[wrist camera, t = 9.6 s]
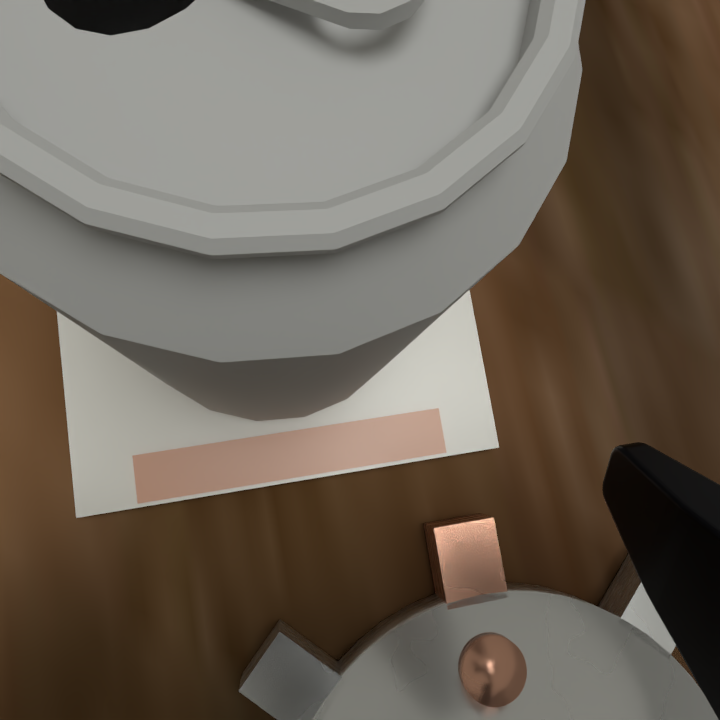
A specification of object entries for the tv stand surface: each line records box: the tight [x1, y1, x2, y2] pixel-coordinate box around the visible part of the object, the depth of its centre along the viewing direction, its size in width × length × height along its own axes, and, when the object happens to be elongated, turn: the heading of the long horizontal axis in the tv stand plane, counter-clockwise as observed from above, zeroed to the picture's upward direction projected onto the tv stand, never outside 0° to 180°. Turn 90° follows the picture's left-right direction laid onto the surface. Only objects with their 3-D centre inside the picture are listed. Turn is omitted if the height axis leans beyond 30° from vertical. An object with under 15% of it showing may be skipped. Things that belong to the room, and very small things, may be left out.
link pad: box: [57, 291, 499, 518], centre depth 17 cm, size 11×11×1 cm
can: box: [0, 0, 585, 421], centre depth 11 cm, size 8×8×12 cm
